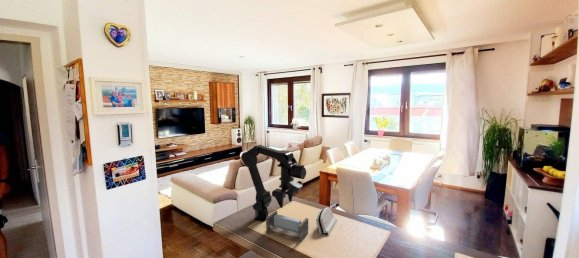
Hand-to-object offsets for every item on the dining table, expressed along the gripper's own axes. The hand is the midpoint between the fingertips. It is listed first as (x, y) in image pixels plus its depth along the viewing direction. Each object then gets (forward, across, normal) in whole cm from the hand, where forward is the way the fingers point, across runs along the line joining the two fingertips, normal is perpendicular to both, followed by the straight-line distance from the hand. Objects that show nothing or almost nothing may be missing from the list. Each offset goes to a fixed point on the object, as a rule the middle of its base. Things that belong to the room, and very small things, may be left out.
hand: (285, 204), depth 128 cm
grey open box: (+12, -6, -5) cm, 14 cm away
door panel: (+11, -6, -5) cm, 13 cm away
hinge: (+12, +10, -19) cm, 25 cm away
